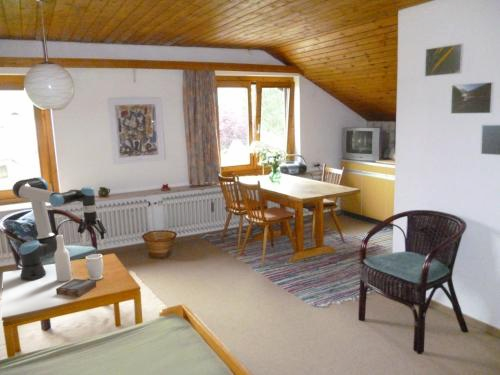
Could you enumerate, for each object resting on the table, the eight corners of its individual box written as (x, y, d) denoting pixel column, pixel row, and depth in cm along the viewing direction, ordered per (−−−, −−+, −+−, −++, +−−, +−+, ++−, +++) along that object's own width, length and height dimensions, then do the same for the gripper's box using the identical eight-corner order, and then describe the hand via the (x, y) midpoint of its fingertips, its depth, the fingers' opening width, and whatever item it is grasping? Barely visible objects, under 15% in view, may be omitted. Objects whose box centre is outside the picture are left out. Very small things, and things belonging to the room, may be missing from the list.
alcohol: (54, 280, 279) (49, 236, 274) (65, 276, 287) (60, 232, 282) (63, 283, 275) (58, 237, 270) (74, 278, 283) (70, 234, 278)
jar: (107, 276, 285) (105, 254, 283) (97, 281, 276) (95, 259, 273) (94, 274, 289) (92, 253, 286) (83, 280, 279) (81, 258, 277)
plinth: (56, 294, 258) (56, 288, 257) (74, 284, 273) (74, 278, 272) (79, 297, 253) (78, 290, 253) (96, 286, 268) (95, 280, 268)
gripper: (69, 211, 275) (72, 244, 278) (102, 213, 267) (106, 246, 271) (77, 209, 282) (80, 240, 285) (110, 210, 274) (113, 242, 278)
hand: (92, 243), depth 278 cm, fingers open, 13 cm apart
